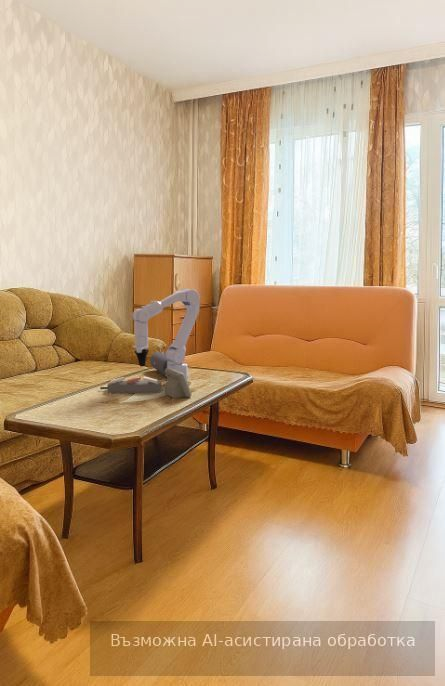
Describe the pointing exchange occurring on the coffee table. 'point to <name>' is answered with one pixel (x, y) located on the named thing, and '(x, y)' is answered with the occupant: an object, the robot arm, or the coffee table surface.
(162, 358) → the bluetooth speaker
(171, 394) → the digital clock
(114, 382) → the rocker
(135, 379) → the plate
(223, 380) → the coffee table surface
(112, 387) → the power strip
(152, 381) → the block
